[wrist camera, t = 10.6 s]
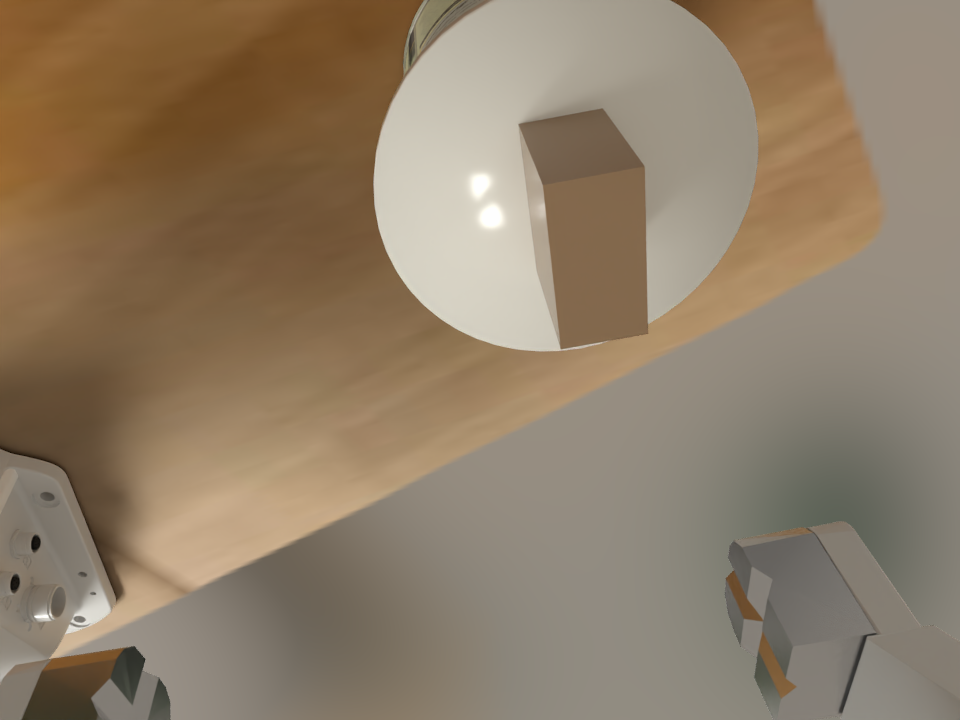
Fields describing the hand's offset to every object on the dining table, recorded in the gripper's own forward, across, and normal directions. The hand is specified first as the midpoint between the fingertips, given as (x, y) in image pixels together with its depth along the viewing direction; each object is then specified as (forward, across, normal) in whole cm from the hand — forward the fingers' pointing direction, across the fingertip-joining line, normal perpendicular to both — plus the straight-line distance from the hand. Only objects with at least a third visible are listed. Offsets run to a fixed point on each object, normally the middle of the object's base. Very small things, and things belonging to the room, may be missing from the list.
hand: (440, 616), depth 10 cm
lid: (+16, -5, +1) cm, 16 cm away
